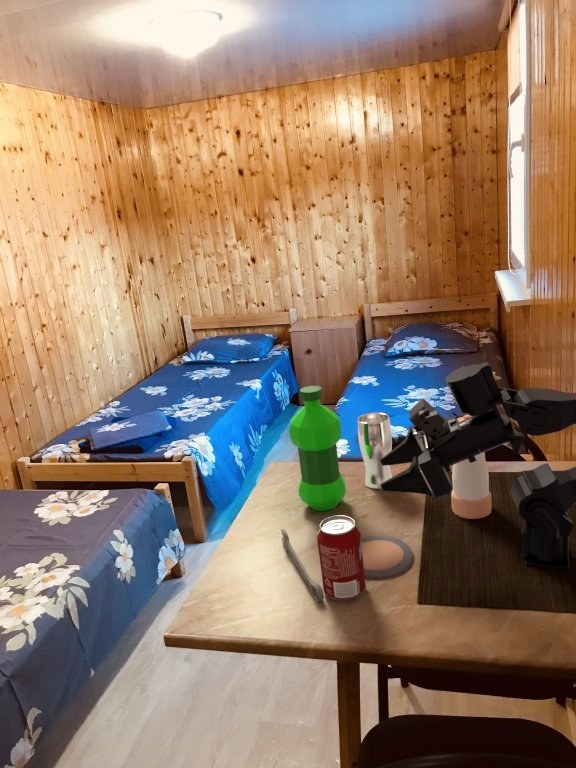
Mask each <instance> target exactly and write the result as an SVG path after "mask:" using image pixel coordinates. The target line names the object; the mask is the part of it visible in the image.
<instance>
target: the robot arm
mask: <svg viewBox="0 0 576 768" xmlns="http://www.w3.org/2000/svg"><path fill="white" fill-rule="evenodd" d="M445 382H446V384H447V387H448V389H449V391H450V393H451V394H452V397H453V399H454V401H455V403H456V405H457V407H458V409H459V411H460V412H461V413H462V414H468V415H470V416H472V417H470V418H468V419H465V420H466V421H465V420H463V421H461V422H459V421H458V418H454V417H452V418H450V419H448V420H447V419H446V418H445V417H444V416H443V415H442V414H441V413H440V412H439V411H438V410H437V409H436V408H434V407H433V405H431V404H430V403H429V402H428V401H427V400H426V399H424V398H421V399H419V401H418V402H417V403H416V404H415V405H414V406H412V408H410V409H409V410H408V411H407V412H408V414H409V417H408V419H409V421H410V422H411V424H412V425H411V424H410V425H409V426H408V430H407V434H406V437H405V438H404V439H403V440H402V441H401V442H400V443H399V444H398V445H396V446H395V447H394V448H393V449H391V451H390V452H389V453H388V454H387V455H385V456H384V457H383V458H382V459H381V460H380V462H381V464H382V465H383V466H386V465H390V466H395V465H401V464H409V463H410V465H409V467H408V468H407V469H405V470H403V471H401V472H399V473H397V474H395V475H394V476H392V478H390V479H388V480H387V481H385V482H384V483H382V484H381V487H382V489H381V490H382V491H383V492H395V493H396V492H397V493H409V494H410V493H412V494H420V495H428V496H429V497H434V498H435V499H436V500H439V499H441V498H444V497H446V496H448V495H450V492H451V490H452V489H453V485H452V481H451V479H450V476H449V474H448V473H450V472H452V468H451V466H452V467H453V465H454V464H456V463H459V462H461V461H464V460H466V459H468V460H469V462H470V463H472V462H474V461H476V458H475V456H476V455H478V454H481V453H483V452H485V453H486V452H488V451H490V450H492V449H495V448H497V447H500V446H503V445H505V444H507V443H509V445H510V446H511V448H512V451H513V453H514V454H518V453H520V450H521V447H522V444H523V442H524V441H525V439H526V437H525V436H524V433H525V434H527V435H529V436H533V437H534V436H536V437H540V436H545V435H549V434H553V433H558V432H561V431H563V430H566V429H568V428H570V427H572V426H574V425H576V392H566V391H560V390H557V389H551V388H537V387H527V388H526V387H525V388H522V389H520V390H518V389H516V390H515V389H511V388H507V387H500V386H499V385H498V383H497V381H496V379H495V376H494V372H493V370H492V367H491V365H490V364H489V362H487V361H485V362H482V363H479V364H478V363H475V364H469V365H467V366H466V365H464V366H460V367H459V368H457V369H455V370H453V371H452V372H450V373H449V374H448V375H447V376H446V377H445ZM498 405H500V406H501V408H502V410H503V411H504V413H505V414H506V415H505V414H501V413H500V412H499V409H498ZM511 419H512V420H513V421H515V422H516V423H517V425H518V426H519V428H520V429H521V431H523V432H524V433H522V432H521V431H518V430H516V428H515V426H514V424H513V422H512V420H511ZM480 452H481V453H480ZM510 489H511V490H510V493H511V497H512V499H513V502H514V504H515V507H516V508H517V511H518V513H519V516H520V517H521V518H522V519H523V521H525V524H523V525H522V527H521V554H522V556H524V557H525V561H524V562H525V563H524V564H525V565H527V566H532V567H534V566H535V567H543V568H553V569H554V568H555V569H556V568H557V569H565V570H568V569H570V566H571V564H570V563H571V562H570V553H569V539H570V538H569V537H570V535H571V533H572V531H573V529H574V523H573V521H572V519H571V518H570V516H569V514H568V512H569V511H570V509H571V508H572V507H573V506H574V505H576V466H574V467H571V468H568V469H565V470H553V469H552V468H551V466H550V465H549V464H548V463H543V464H541V465H539V466H537V467H535V468H533V469H530V470H522V474H521V475H520V476H518V477H516V478H515V479H514V480H513V483H512V485H511V488H510Z"/></svg>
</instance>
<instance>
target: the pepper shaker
mask: <svg viewBox="0 0 576 768" xmlns="http://www.w3.org/2000/svg"><path fill="white" fill-rule="evenodd" d="M470 417H472V416H470V415H469V414H466V415H465V414H464V416H462V417H457V419H458V421H459V422H461V421H463V420H465V419H468V418H470ZM465 421H466V420H465ZM480 453H481V452H480ZM485 453H486V452H483V453H481V454H478V455H476V456H475V458H476V461H474V462H472V463H470V462H469V460H468V459H466V460H464V461H461V462H459V463H456V464H454V465H452V474H451V479H452V481H451V484H452V489H451V490H452V491H451V494H450V496H451V510H453V511H452V513H453V512H454V515H456V516H457V515H458V516H457V517H460V518H464V519H468V520H469V519H470V520H476V519H483V518H485V517H487V516H489V515H490V514H491V513H492V511H491V510H493V509H492V507H493V506H492V493H491V491H490V489H489V487H490V484H489V483H490V481H489V480H490V475H489V470H488V466H487V461H486V454H485Z"/></svg>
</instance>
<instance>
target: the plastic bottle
mask: <svg viewBox="0 0 576 768" xmlns="http://www.w3.org/2000/svg"><path fill="white" fill-rule="evenodd" d="M299 393H300V400H301V401H302V402H303V403H304V406H302V408H301V409H300V410H299V411H297V413H296V414H294V416H293V417H292V418H291V421H290V426H289V430H288V431H289V432H288V433H289V438H290V440H291V441H290V442H291V443H292V444H293V445H295V447H297V451H298V458H299V459H298V460H299V468H300V474H301V477H300V480H299V485H298V495H299V498H300V500H301V501H302V502H303V503H305V505H308V506H309V507H311V508H312V509H314V511H318V512H319V511H322V512H325V511H330V510H332V509H334V508H336V506H337V505H338V504H339V503H340V502H341V501H343V499H344V498H345V496H346V493H347V492H346V491H347V490H346V481H345V478H344V476H343V474H342V473H341V472H340V467H339V465H340V464H339V456H338V448H337V443H338V442H339V441H340V440H341V439H342V438H341V436H342V428H341V427H342V426H341V419H340V418H339V415H338V414H336V413H335V412H333V411H332V410H331V409H329V408H328V407H326V406H324V405H323V404H321V399H323V391H322V386H320V385H319V386H318V385H309V386H304V387H302V388H300V390H299Z"/></svg>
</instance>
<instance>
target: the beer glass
mask: <svg viewBox="0 0 576 768" xmlns="http://www.w3.org/2000/svg"><path fill="white" fill-rule="evenodd" d="M357 435H358V445H359V449H360V452H361V456H362V460H363V464H364V469H365V477H364V478H365V479H364V485H365V486H366V487H367V488H369V489H371V490H372V489H373V490H383V489H382V487H381V484H382V483H384V482H385V481H387V480H388V479H390V478H392V477H393V474H392V470H391V465H386V466H383V465H382V464H381V462H380V460H381V459H382V458H383V457H384V456H385V455H387V454H388V453H389V452H390V451H392V450H393V449H392V448H393V446H392V445H393V440H392V439H393V438H392V437H393V436H392V427H391V421H390V415H388V414H387V413H383V412H377V411H376V412H369V413H365V414H362V415H359V416H358V417H357Z"/></svg>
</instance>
